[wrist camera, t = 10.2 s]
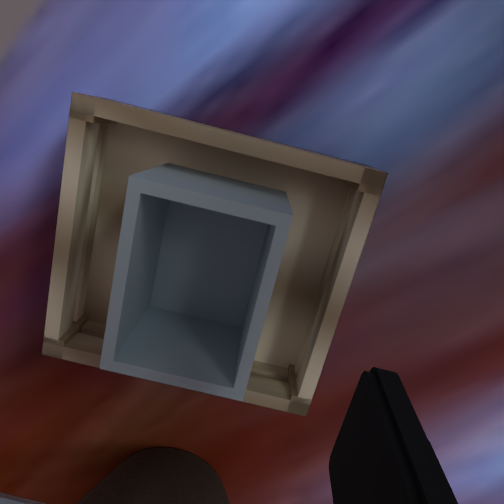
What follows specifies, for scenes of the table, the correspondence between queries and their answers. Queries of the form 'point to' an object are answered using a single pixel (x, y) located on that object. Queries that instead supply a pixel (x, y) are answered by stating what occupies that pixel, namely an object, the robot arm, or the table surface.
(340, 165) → the birch crate
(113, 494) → the plant pot
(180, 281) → the slate crate
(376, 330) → the table surface
